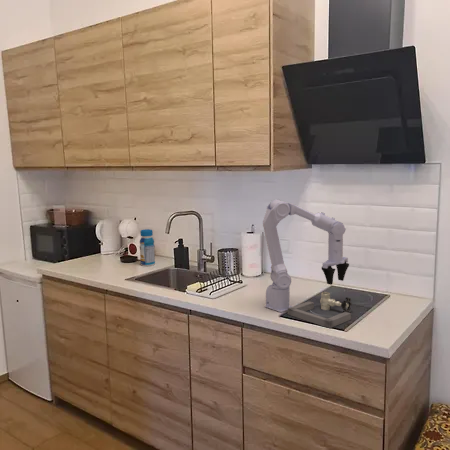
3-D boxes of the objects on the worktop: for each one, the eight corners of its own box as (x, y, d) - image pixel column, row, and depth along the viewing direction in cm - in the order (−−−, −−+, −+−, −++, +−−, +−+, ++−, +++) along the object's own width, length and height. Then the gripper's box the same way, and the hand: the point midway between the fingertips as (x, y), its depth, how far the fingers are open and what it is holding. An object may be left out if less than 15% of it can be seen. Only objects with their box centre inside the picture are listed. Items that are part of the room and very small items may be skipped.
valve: (316, 309, 190) (344, 316, 182) (316, 294, 189) (344, 299, 181) (324, 305, 195) (351, 311, 187) (325, 290, 194) (352, 295, 186)
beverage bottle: (151, 266, 264) (150, 231, 261) (137, 266, 266) (136, 231, 263) (157, 263, 272) (156, 229, 269) (143, 262, 274) (142, 228, 271)
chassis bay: (287, 314, 184) (287, 308, 184) (308, 307, 193) (309, 301, 192) (329, 328, 169) (329, 321, 169) (350, 319, 178) (350, 313, 177)
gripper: (332, 254, 184) (332, 287, 186) (354, 248, 194) (353, 280, 196) (318, 251, 189) (318, 284, 192) (339, 246, 199) (339, 277, 201)
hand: (335, 282), depth 194 cm, fingers open, 7 cm apart
